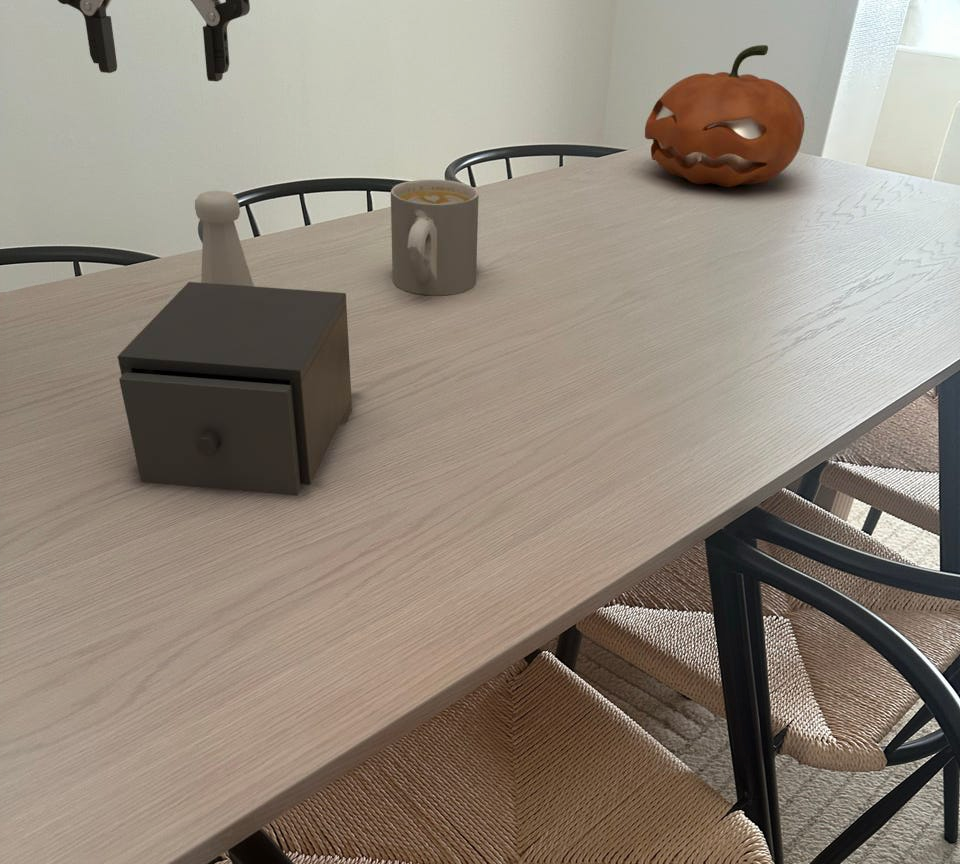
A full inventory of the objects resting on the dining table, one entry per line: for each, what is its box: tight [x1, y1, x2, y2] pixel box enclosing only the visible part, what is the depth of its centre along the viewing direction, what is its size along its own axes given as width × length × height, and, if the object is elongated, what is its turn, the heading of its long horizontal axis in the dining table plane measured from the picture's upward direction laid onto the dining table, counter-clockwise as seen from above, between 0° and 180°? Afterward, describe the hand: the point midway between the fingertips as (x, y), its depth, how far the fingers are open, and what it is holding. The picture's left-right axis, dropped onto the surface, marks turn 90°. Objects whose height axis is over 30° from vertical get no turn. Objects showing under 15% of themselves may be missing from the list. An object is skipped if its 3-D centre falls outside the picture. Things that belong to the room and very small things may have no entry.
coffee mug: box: [390, 179, 480, 297], centre depth 113 cm, size 13×10×10 cm
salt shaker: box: [194, 190, 255, 287], centre depth 102 cm, size 6×6×13 cm
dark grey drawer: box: [118, 369, 302, 496], centre depth 80 cm, size 16×13×9 cm
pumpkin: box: [644, 44, 806, 188], centre depth 151 cm, size 25×25×19 cm
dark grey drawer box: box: [117, 281, 353, 486], centre depth 82 cm, size 16×14×11 cm
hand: (161, 75), depth 79 cm, fingers open, 8 cm apart
